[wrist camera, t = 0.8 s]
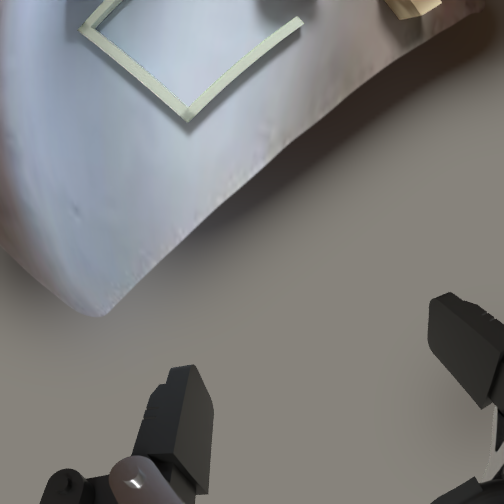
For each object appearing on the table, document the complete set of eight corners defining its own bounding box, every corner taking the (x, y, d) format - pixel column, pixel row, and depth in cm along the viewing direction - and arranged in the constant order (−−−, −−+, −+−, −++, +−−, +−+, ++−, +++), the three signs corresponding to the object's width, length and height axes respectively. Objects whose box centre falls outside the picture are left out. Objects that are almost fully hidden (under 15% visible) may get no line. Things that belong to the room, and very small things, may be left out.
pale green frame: (82, 32, 22) (77, 30, 21) (190, -63, 18) (190, -68, 16) (188, 121, 30) (187, 123, 29) (300, 26, 26) (304, 23, 24)
